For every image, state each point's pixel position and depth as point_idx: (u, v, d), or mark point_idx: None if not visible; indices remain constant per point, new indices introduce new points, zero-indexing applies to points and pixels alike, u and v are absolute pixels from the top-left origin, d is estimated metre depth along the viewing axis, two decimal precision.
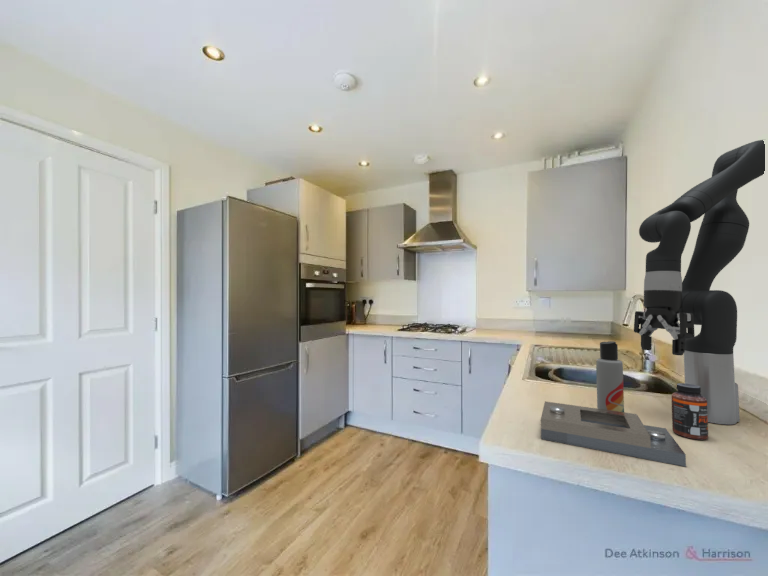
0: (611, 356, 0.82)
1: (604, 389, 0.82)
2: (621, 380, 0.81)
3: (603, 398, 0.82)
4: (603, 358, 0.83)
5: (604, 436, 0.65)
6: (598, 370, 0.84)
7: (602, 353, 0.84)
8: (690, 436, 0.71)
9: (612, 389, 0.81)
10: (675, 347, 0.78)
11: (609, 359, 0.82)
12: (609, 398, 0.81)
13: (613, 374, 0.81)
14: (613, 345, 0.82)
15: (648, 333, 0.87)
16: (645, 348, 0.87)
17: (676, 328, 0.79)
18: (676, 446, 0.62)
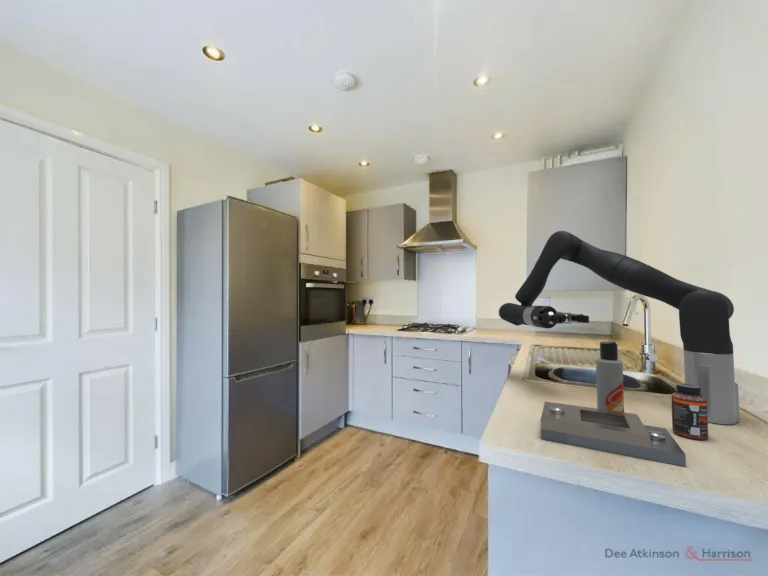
0: (611, 356, 0.82)
1: (604, 389, 0.82)
2: (621, 380, 0.81)
3: (603, 398, 0.82)
4: (603, 358, 0.83)
5: (604, 436, 0.65)
6: (598, 370, 0.84)
7: (602, 353, 0.84)
8: (690, 436, 0.71)
9: (612, 389, 0.81)
10: (557, 322, 0.96)
11: (609, 359, 0.82)
12: (609, 398, 0.81)
13: (613, 374, 0.81)
14: (613, 345, 0.82)
15: (576, 317, 1.00)
16: (585, 321, 0.96)
17: None
18: (676, 446, 0.62)
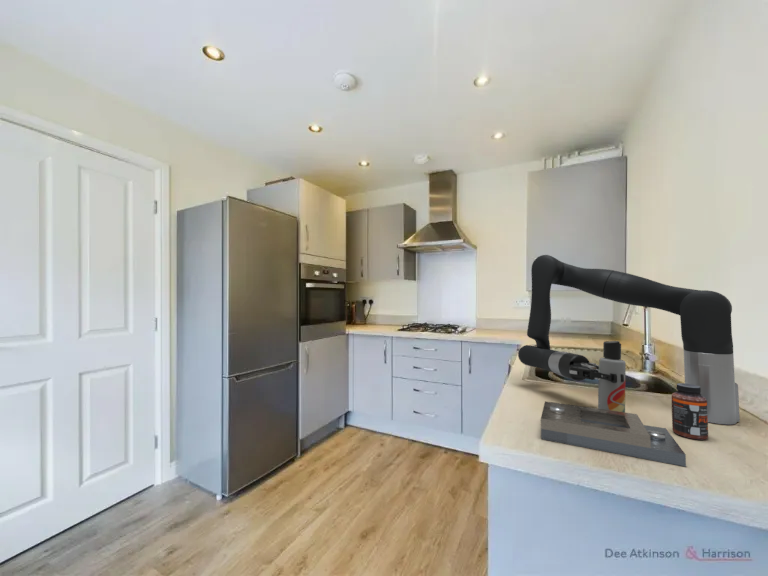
0: (615, 355, 0.82)
1: (606, 388, 0.82)
2: None
3: (605, 397, 0.82)
4: (606, 357, 0.83)
5: (604, 436, 0.65)
6: (601, 369, 0.84)
7: (605, 352, 0.84)
8: (690, 436, 0.71)
9: (614, 388, 0.81)
10: (608, 380, 0.82)
11: (612, 358, 0.82)
12: (611, 397, 0.81)
13: (616, 373, 0.81)
14: (617, 344, 0.82)
15: None
16: None
17: None
18: (676, 446, 0.62)
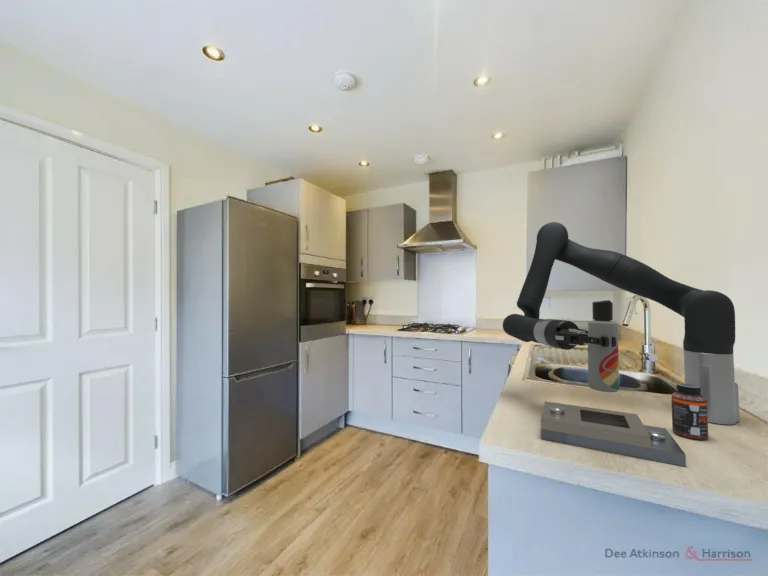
0: (606, 316, 0.71)
1: (598, 354, 0.71)
2: (617, 343, 0.70)
3: (596, 365, 0.71)
4: (597, 319, 0.72)
5: (604, 436, 0.65)
6: (591, 333, 0.72)
7: (595, 314, 0.72)
8: (690, 436, 0.71)
9: (607, 354, 0.70)
10: None
11: (604, 320, 0.71)
12: (603, 364, 0.70)
13: (608, 337, 0.70)
14: (608, 304, 0.71)
15: None
16: None
17: None
18: (676, 446, 0.62)
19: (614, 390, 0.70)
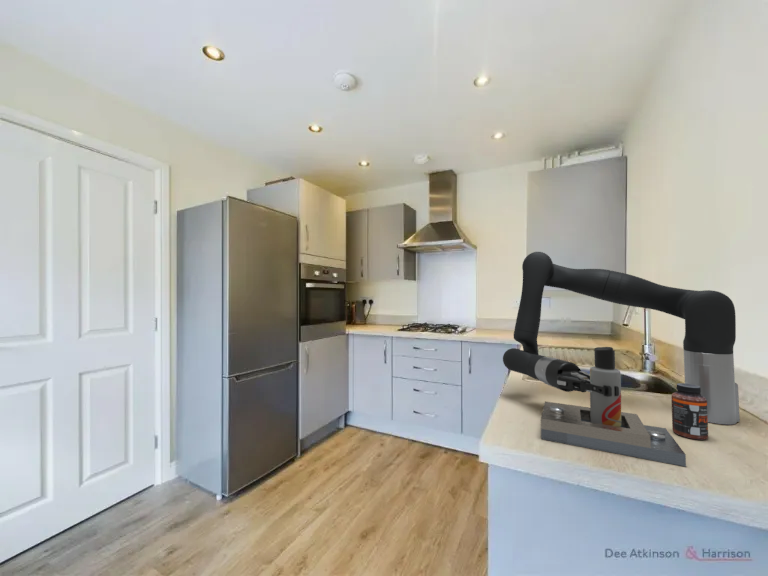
0: (608, 365, 0.70)
1: (600, 403, 0.70)
2: (619, 392, 0.70)
3: (599, 414, 0.70)
4: (599, 367, 0.71)
5: (604, 436, 0.65)
6: (593, 381, 0.72)
7: (597, 361, 0.72)
8: (690, 436, 0.71)
9: (610, 403, 0.69)
10: (601, 393, 0.70)
11: (606, 368, 0.70)
12: (606, 414, 0.69)
13: (611, 386, 0.69)
14: (611, 352, 0.70)
15: None
16: None
17: None
18: (676, 446, 0.62)
19: None
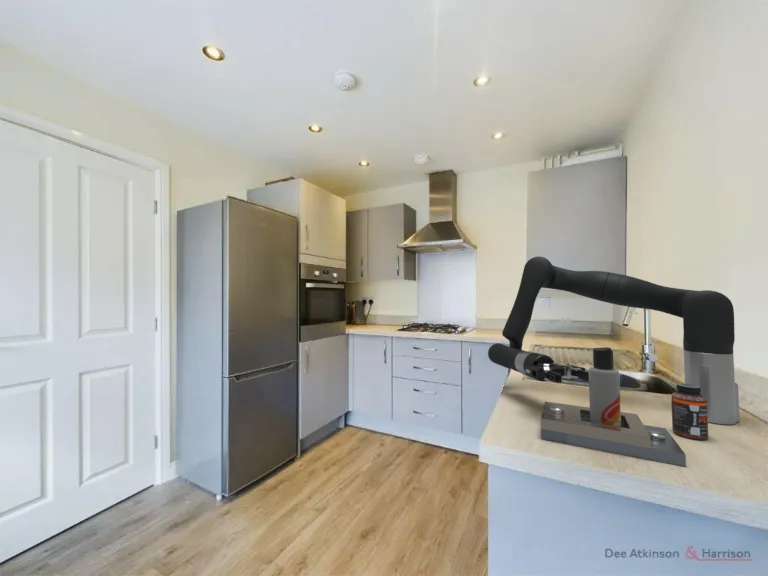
0: (607, 365, 0.71)
1: (599, 404, 0.70)
2: (618, 393, 0.70)
3: (598, 414, 0.70)
4: (597, 367, 0.72)
5: (604, 436, 0.65)
6: (592, 381, 0.72)
7: (596, 362, 0.72)
8: (690, 436, 0.71)
9: (609, 403, 0.69)
10: (554, 380, 0.80)
11: (605, 368, 0.71)
12: (605, 414, 0.70)
13: (610, 386, 0.69)
14: (609, 352, 0.71)
15: (576, 372, 0.84)
16: (588, 379, 0.80)
17: None
18: (676, 446, 0.62)
19: None
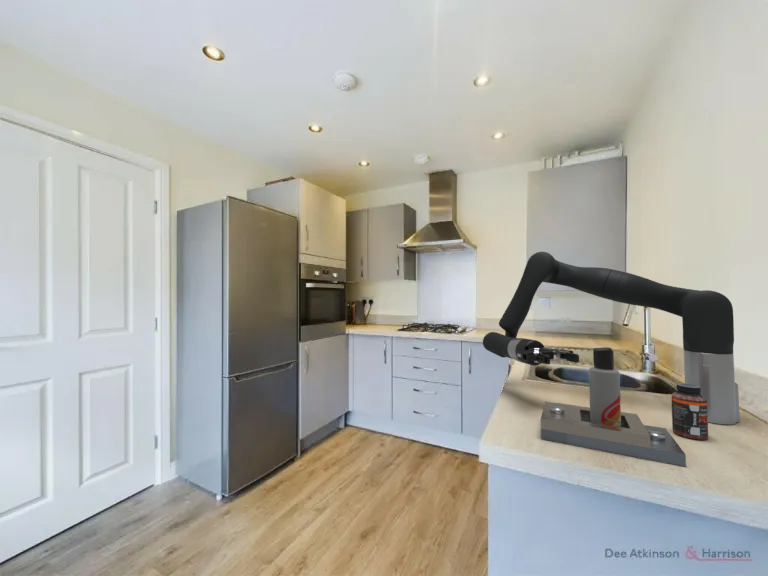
0: (607, 365, 0.71)
1: (600, 403, 0.70)
2: (618, 393, 0.70)
3: (598, 414, 0.70)
4: (598, 367, 0.72)
5: (604, 436, 0.65)
6: (592, 381, 0.72)
7: (596, 362, 0.72)
8: (690, 436, 0.71)
9: (609, 403, 0.69)
10: (543, 362, 0.85)
11: (605, 368, 0.71)
12: (606, 414, 0.70)
13: (610, 386, 0.69)
14: (609, 352, 0.71)
15: (565, 354, 0.89)
16: (575, 360, 0.85)
17: None
18: (676, 446, 0.62)
19: None
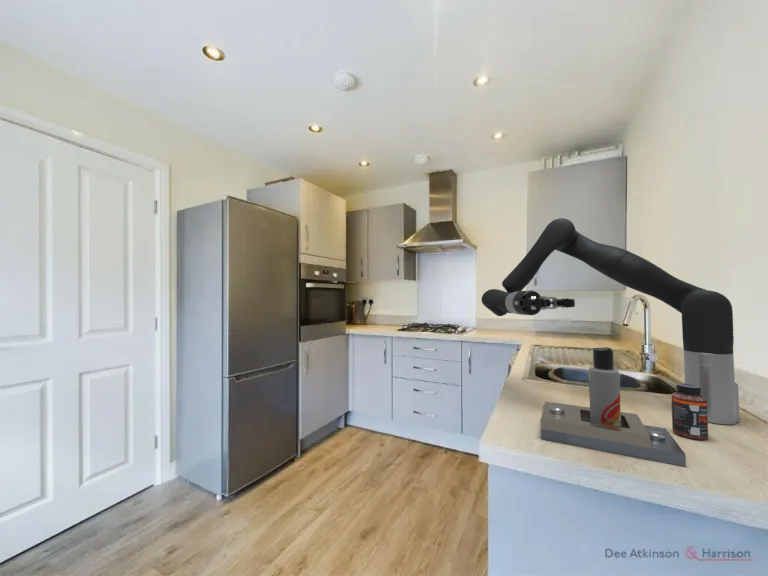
0: (607, 365, 0.71)
1: (599, 404, 0.70)
2: (618, 393, 0.70)
3: (598, 414, 0.70)
4: (597, 367, 0.72)
5: (604, 436, 0.65)
6: (592, 381, 0.72)
7: (596, 362, 0.72)
8: (690, 436, 0.71)
9: (609, 403, 0.69)
10: (539, 306, 0.86)
11: (605, 368, 0.71)
12: (605, 414, 0.70)
13: (610, 386, 0.69)
14: (609, 352, 0.71)
15: (561, 301, 0.90)
16: (571, 305, 0.86)
17: None
18: (676, 446, 0.62)
19: None
